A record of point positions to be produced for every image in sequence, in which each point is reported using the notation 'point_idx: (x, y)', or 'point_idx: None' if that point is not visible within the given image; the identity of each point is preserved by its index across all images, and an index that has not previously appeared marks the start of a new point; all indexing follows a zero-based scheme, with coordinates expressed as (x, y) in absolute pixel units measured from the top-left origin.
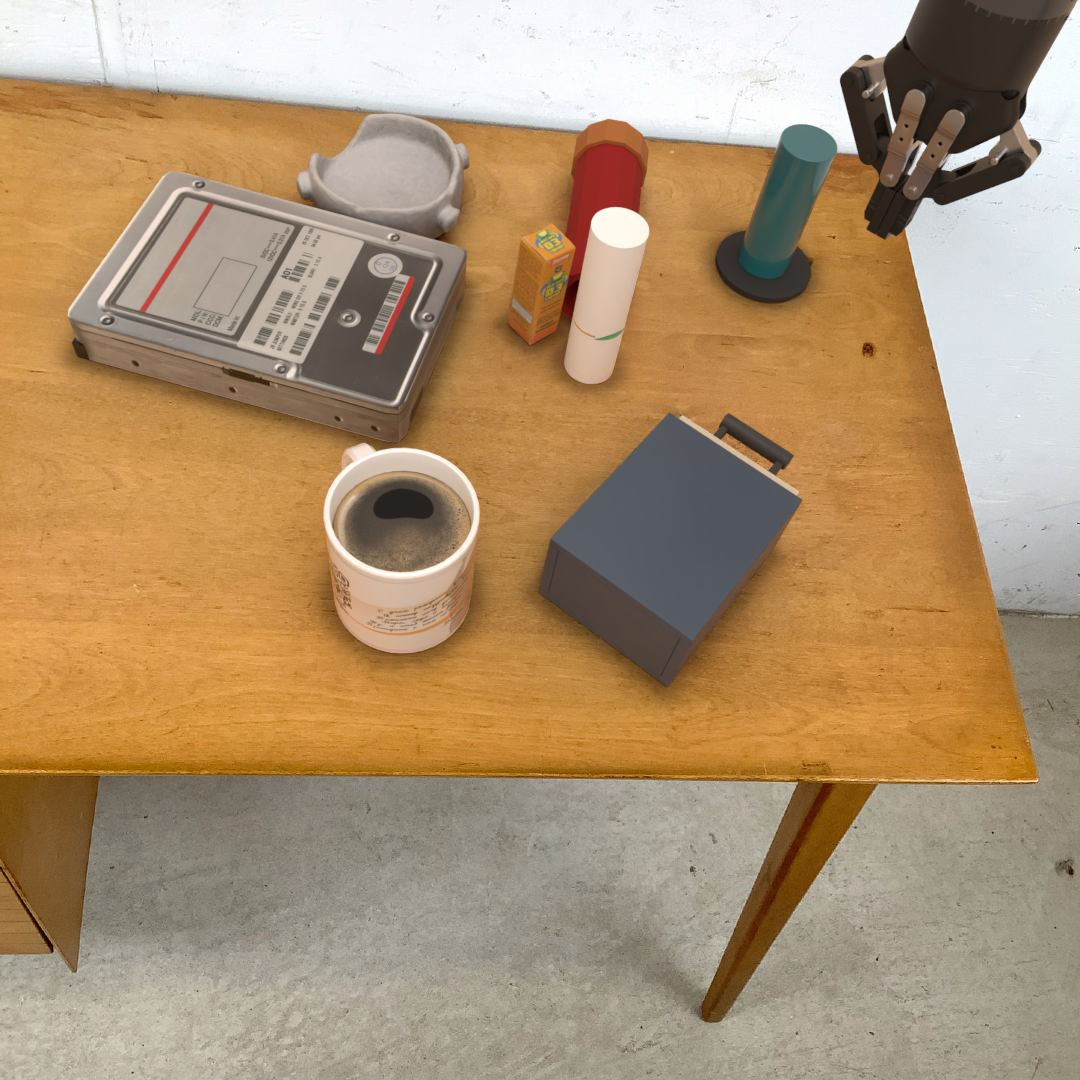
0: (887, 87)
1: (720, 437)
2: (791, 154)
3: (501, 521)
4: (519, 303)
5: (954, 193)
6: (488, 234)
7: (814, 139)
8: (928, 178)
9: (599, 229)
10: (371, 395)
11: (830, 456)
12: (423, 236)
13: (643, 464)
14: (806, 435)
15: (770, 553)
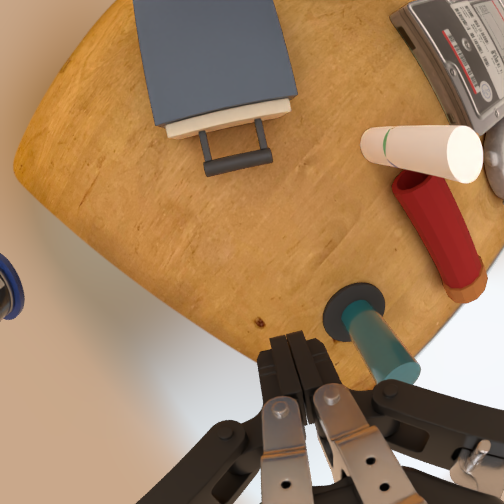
0: (466, 489)
1: (258, 137)
2: (406, 362)
3: (309, 10)
4: None
5: (207, 451)
6: (471, 182)
7: None
8: (268, 444)
9: (472, 137)
10: (419, 4)
11: (207, 232)
12: (488, 143)
13: (269, 40)
14: (232, 231)
15: None
